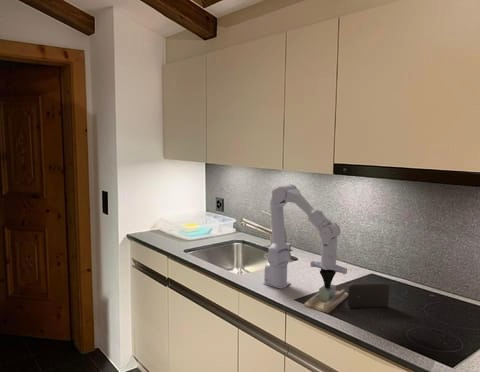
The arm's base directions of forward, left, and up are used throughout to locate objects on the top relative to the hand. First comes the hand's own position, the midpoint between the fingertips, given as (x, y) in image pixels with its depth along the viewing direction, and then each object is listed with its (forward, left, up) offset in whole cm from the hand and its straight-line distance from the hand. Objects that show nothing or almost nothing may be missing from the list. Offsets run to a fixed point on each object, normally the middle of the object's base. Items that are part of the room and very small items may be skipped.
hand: (327, 287), depth 158 cm
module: (0, 0, -4) cm, 5 cm away
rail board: (0, 0, -6) cm, 6 cm away
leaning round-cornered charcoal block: (+15, +4, -6) cm, 17 cm away
